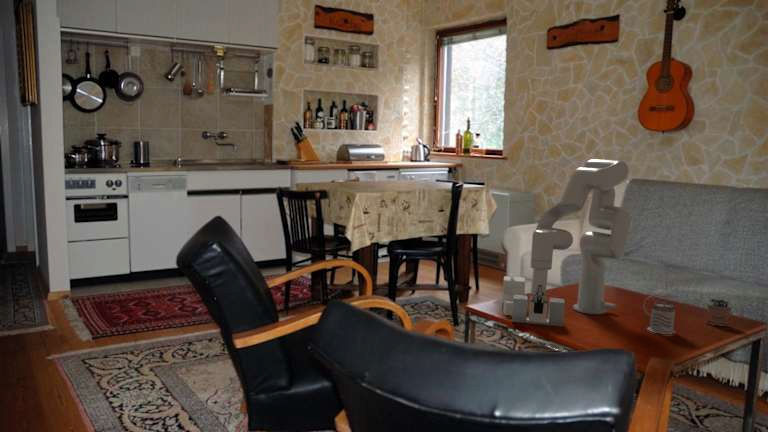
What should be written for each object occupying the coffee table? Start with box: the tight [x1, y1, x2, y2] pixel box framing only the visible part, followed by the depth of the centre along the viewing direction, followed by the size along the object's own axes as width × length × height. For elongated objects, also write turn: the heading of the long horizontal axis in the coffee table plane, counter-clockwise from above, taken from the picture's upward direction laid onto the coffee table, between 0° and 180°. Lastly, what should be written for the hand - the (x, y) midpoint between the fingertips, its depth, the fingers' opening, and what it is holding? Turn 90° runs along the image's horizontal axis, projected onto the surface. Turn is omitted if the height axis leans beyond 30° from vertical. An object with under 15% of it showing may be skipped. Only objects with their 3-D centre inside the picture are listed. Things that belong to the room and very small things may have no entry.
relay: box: [502, 300, 513, 317], centre depth 245 cm, size 4×4×5 cm
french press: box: [643, 262, 678, 334], centre depth 231 cm, size 10×12×25 cm
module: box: [528, 295, 548, 323], centre depth 235 cm, size 6×6×8 cm
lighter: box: [705, 298, 732, 326], centre depth 242 cm, size 8×3×10 cm, turn 71°
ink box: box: [501, 272, 526, 310], centre depth 255 cm, size 9×8×13 cm
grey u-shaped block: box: [511, 294, 565, 328], centre depth 235 cm, size 18×6×9 cm, turn 78°
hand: (537, 309), depth 235 cm, fingers open, 9 cm apart
